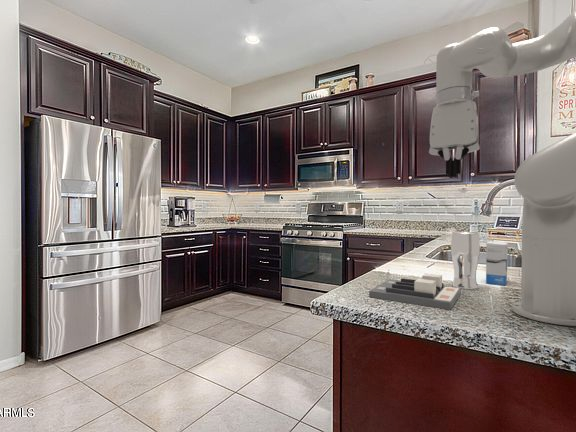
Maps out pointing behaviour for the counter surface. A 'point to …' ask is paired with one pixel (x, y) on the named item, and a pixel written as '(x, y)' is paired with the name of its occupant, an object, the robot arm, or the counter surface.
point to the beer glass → (465, 259)
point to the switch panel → (416, 294)
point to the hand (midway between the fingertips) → (453, 177)
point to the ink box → (496, 262)
